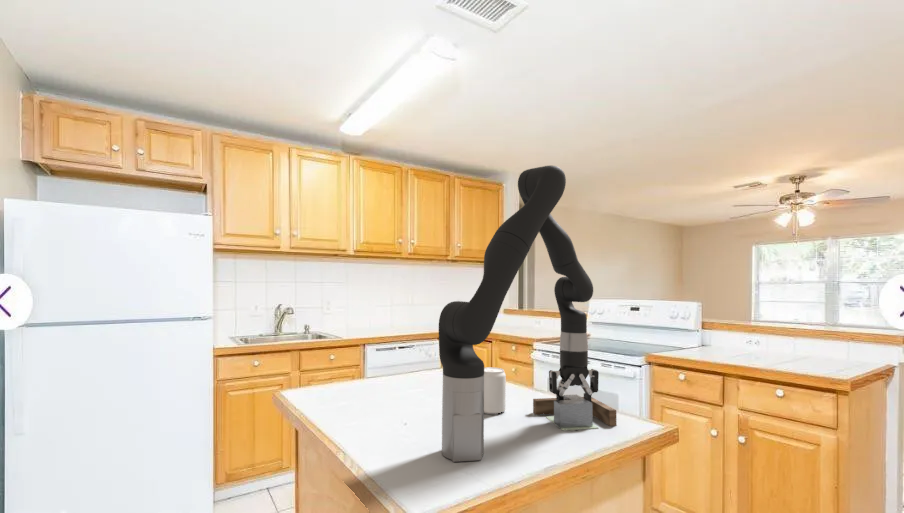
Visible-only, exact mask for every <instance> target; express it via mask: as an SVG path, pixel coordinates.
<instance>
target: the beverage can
mask: <svg viewBox="0 0 904 513" xmlns="http://www.w3.org/2000/svg"><path fill="white" fill-rule="evenodd" d="M506 375H507V374H506V372H505V369H503V368H500V367H496V366H495V367H491V366H487V367H485V366H484V414H487V415H498V413H500V414H502V413H504V412H505V411H506V402H507V400H506V396H507V395H506V392H507V391H506V390H507V389H506V388H507V387H506V386H507V381H506V380H507V379H506V377H507V376H506ZM501 412H502V413H501Z"/></svg>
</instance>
